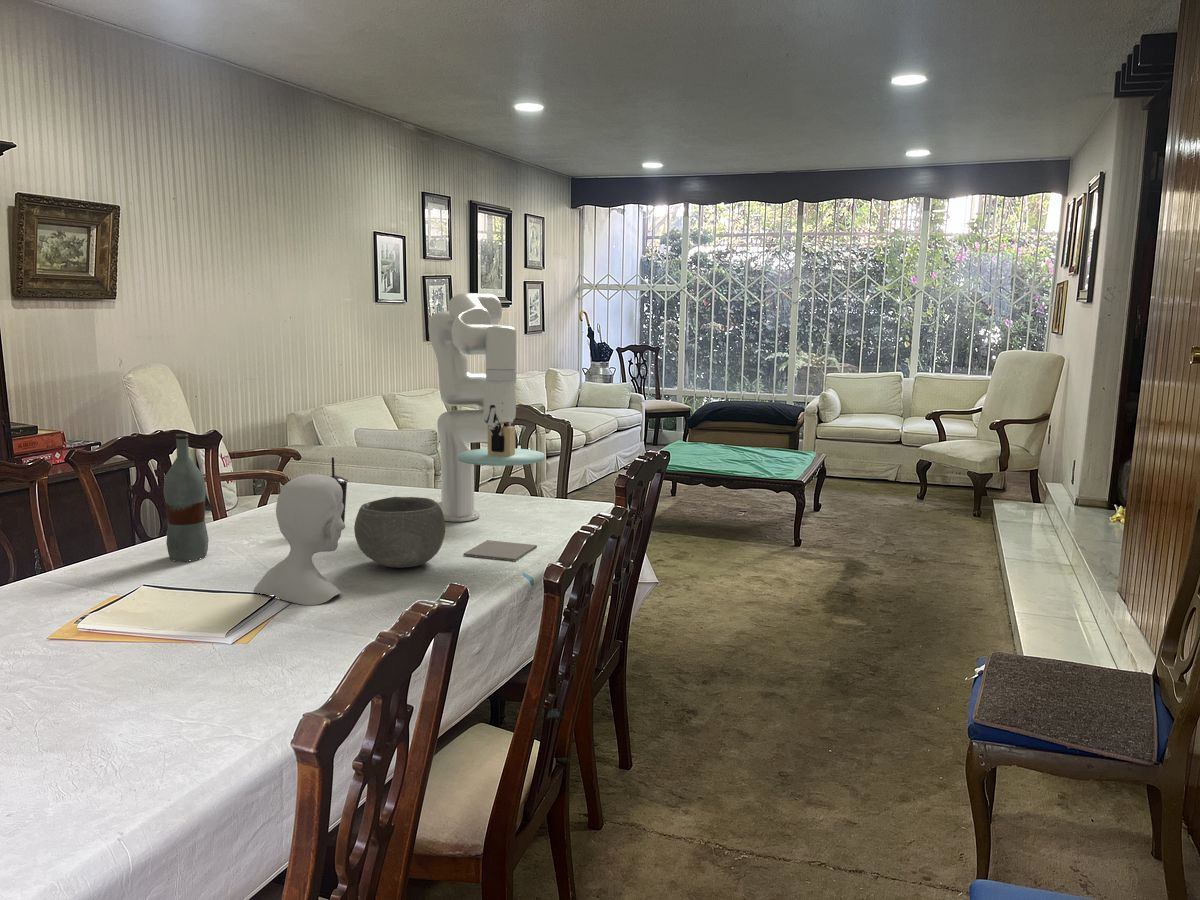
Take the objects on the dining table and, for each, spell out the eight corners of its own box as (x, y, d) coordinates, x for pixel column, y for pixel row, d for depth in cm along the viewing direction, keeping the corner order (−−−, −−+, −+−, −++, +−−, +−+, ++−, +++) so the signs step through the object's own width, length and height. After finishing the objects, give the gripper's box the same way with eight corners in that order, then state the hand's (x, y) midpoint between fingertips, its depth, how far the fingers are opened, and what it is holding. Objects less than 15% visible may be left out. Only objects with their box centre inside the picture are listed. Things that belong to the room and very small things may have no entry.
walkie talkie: (353, 526, 248) (351, 455, 245) (343, 532, 240) (340, 460, 237) (327, 525, 249) (324, 454, 246) (315, 531, 241) (313, 459, 238)
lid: (442, 462, 214) (441, 429, 213) (480, 450, 234) (480, 419, 233) (525, 468, 207) (525, 434, 206) (557, 455, 228) (557, 424, 227)
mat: (463, 555, 220) (463, 553, 220) (487, 542, 233) (487, 540, 233) (515, 561, 216) (515, 558, 216) (536, 547, 229) (536, 545, 229)
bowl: (425, 581, 198) (424, 516, 196) (339, 574, 202) (337, 510, 200) (458, 557, 219) (458, 497, 217) (379, 551, 223) (378, 492, 221)
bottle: (158, 559, 213) (151, 435, 208) (191, 550, 221) (185, 430, 216) (184, 564, 208) (177, 438, 204) (217, 555, 216) (211, 433, 212)
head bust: (380, 585, 195) (378, 473, 191) (312, 609, 179) (308, 487, 175) (312, 569, 206) (308, 463, 202) (241, 590, 190) (236, 476, 186)
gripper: (500, 374, 227) (500, 445, 229) (472, 378, 211) (472, 454, 214) (527, 375, 224) (527, 447, 227) (501, 379, 209) (501, 456, 212)
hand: (501, 449), depth 220 cm, fingers closed on lid, 3 cm apart
